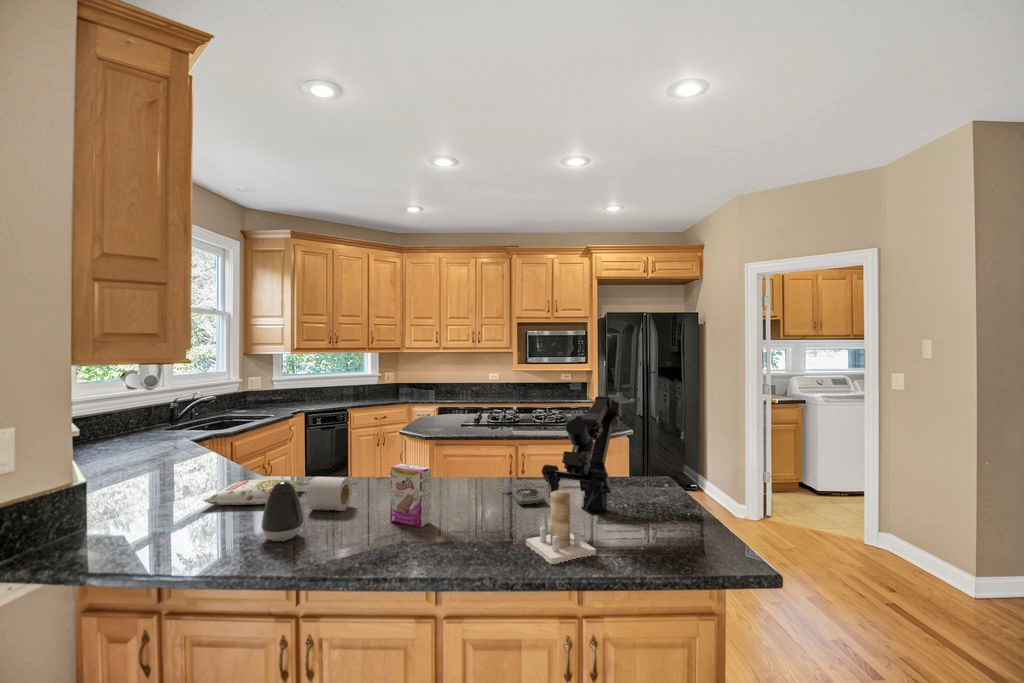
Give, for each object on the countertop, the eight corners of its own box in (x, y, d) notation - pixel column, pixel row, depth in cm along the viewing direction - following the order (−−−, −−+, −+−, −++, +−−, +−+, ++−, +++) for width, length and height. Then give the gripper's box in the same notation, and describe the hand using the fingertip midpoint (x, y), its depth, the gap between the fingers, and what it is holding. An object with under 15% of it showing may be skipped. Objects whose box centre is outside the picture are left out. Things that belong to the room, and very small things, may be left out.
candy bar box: (389, 522, 147) (389, 466, 147) (399, 517, 152) (400, 462, 152) (420, 528, 142) (421, 471, 142) (430, 523, 147) (431, 467, 147)
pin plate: (567, 536, 137) (568, 518, 137) (595, 555, 126) (595, 535, 126) (525, 544, 132) (526, 525, 132) (551, 564, 120) (551, 544, 120)
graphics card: (501, 484, 177) (534, 481, 179) (501, 494, 177) (534, 491, 179) (511, 499, 160) (547, 496, 163) (511, 511, 160) (547, 507, 163)
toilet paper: (351, 505, 162) (351, 474, 162) (337, 515, 152) (338, 482, 152) (322, 503, 163) (322, 473, 163) (306, 514, 153) (306, 481, 153)
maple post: (556, 538, 132) (556, 489, 132) (573, 542, 129) (573, 492, 129) (547, 545, 128) (547, 494, 128) (564, 549, 125) (564, 497, 125)
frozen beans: (284, 490, 158) (200, 491, 155) (283, 509, 157) (200, 510, 155) (305, 475, 178) (231, 476, 176) (304, 491, 178) (231, 492, 176)
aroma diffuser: (261, 548, 128) (262, 489, 128) (261, 534, 137) (261, 479, 137) (304, 541, 132) (305, 484, 132) (301, 528, 142) (301, 474, 142)
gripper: (543, 436, 143) (528, 484, 134) (608, 442, 136) (596, 494, 126) (553, 457, 151) (539, 505, 141) (614, 464, 143) (604, 515, 133)
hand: (568, 504), depth 135 cm, fingers open, 9 cm apart
